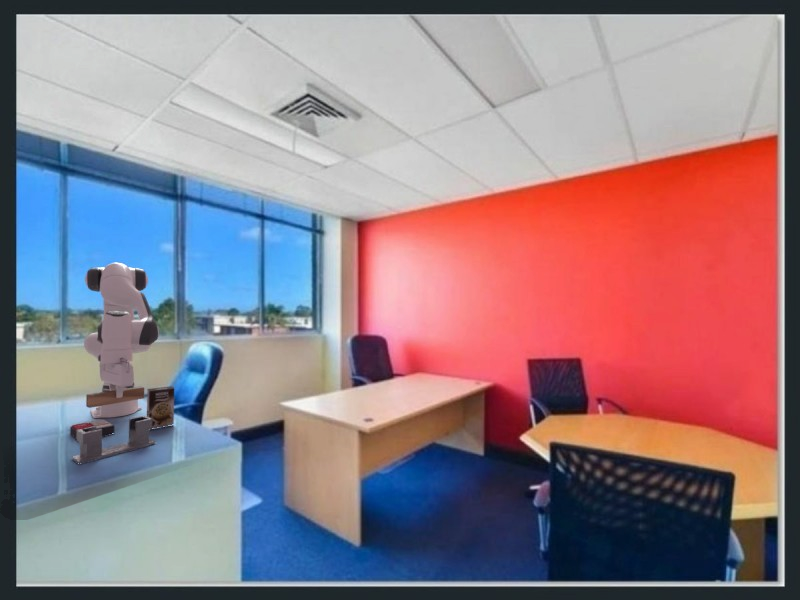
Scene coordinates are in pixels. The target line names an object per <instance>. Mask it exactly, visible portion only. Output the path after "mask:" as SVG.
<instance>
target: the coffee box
mask: <svg viewBox="0 0 800 600" xmlns="http://www.w3.org/2000/svg"><path fill="white" fill-rule="evenodd" d="M146 390H147V392H146V393H147V397H146V416H147V417H149V418H152V428H157V427H163V426H168V425H172V424H175V423H174V420H175V414H174V413H175V388H174V387H173V386H161V387H154V388H153V387H151V388H147V389H146ZM152 428H151V429H152Z"/></svg>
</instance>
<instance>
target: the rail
mask: <svg viewBox="0 0 800 600" xmlns="http://www.w3.org/2000/svg"><path fill="white" fill-rule="evenodd" d="M115 393H116V390H113V391H107V392H102V391H101V392H94V393H88V394H86V399H85V402H86V403H85V404H86V405H85V406H86V407H87V408H89V409H91V408H97V406H103V405H109V404H114V403H120V402H126V401H132V400H137V399H138V400H142V399H145V387H144V386H136V387H135V386H134V387H133V388H127V389H124V391H123V397H121V398H116V397H115Z"/></svg>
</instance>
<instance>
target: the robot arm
mask: <svg viewBox="0 0 800 600" xmlns="http://www.w3.org/2000/svg"><path fill="white" fill-rule="evenodd" d="M84 282H85V285H86V287H87V289H89V291H91V292H97V293H100V295H101V297H102V299H103V300H102V301H103V318H102V322H101V323H100V324H99V325H97V326H96V327H97V329H96V330H97V332H92V333H89V334H88V335H87V336H86V338H85V339H84V341H83V348H84V349H85V351H86V352H87V353H88V354H90V356H93V357H94V358H95V359H96V360H97V361H98V362H99V376H100V377H99V378H100V380H101V382H103V384H102V387H101V392H107V391H113V390H116V393H115V397H116V398H121V397H123V391H124V389H127V388H133V387H135V378H134V377H135V376H134V366H133V364H132V362H133V354H139V353H143V352H147V351H149V349H150V348H151V346H152V345H153V344H154V343H155V342H156V341H157V340H158V339H159V334H160V332H159V331H160V330H159V329H160V328H159V326H158V324H157V322H156V321H157V320H155V318H154V316H153V313H152V310H151V307H150V305H149V303H148V300H147V296H146V295H145V294H144V292H142V291H143V290H145V289H146V287H147V286H148V282H149V277H148V275H147V273H146V270H144V269H143V268H138V267H135V268H133V267H129V266H127V265H126V264H124V263H121V262H112V263H109V264H107V265H106V266H104V267H98V266H96V267H91V268H89V269H88V270H87V271H86V274H85V277H84ZM134 311H136V312H137V315H138V319H135V313H134ZM130 362H131V363H130ZM140 410H142V406H139V399H137V400H132V401H126V402H120V403H114V404H109V405H103V406H97V407H95V408H93V409H90V413H91V416H92V418H93V419H101V418H117V417H123V416H128V415H132V414H134V413H137V412H138V411H140Z"/></svg>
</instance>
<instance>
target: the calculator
mask: <svg viewBox="0 0 800 600" xmlns="http://www.w3.org/2000/svg"><path fill="white" fill-rule="evenodd" d="M93 426H96V430H99V429H102V436H103V437H106V436H105V435H108V436H110V435H109V434H112V433H114V434H115V425H114V424H112V423H110V422H109V421H106V419H97V420H93V421H88V422H82V423H76V424H72V426H70V429H69V432H70V435H71V434H72V435H71V436H73V437H74V438H75V440H76V439H77V430H79V429H84V428H88V427H93ZM112 435H113V434H112Z"/></svg>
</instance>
